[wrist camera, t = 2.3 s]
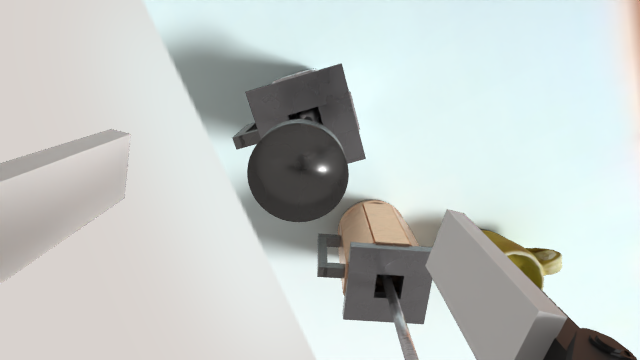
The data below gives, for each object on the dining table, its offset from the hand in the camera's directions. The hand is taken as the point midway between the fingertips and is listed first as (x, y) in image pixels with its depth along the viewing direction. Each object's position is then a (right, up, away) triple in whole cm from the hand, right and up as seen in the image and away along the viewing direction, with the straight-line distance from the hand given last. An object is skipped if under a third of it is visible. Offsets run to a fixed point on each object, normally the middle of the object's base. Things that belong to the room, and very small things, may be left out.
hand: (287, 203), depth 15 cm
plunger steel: (0, +7, +21) cm, 22 cm away
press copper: (+7, -6, +35) cm, 36 cm away
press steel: (-1, +9, +30) cm, 31 cm away
